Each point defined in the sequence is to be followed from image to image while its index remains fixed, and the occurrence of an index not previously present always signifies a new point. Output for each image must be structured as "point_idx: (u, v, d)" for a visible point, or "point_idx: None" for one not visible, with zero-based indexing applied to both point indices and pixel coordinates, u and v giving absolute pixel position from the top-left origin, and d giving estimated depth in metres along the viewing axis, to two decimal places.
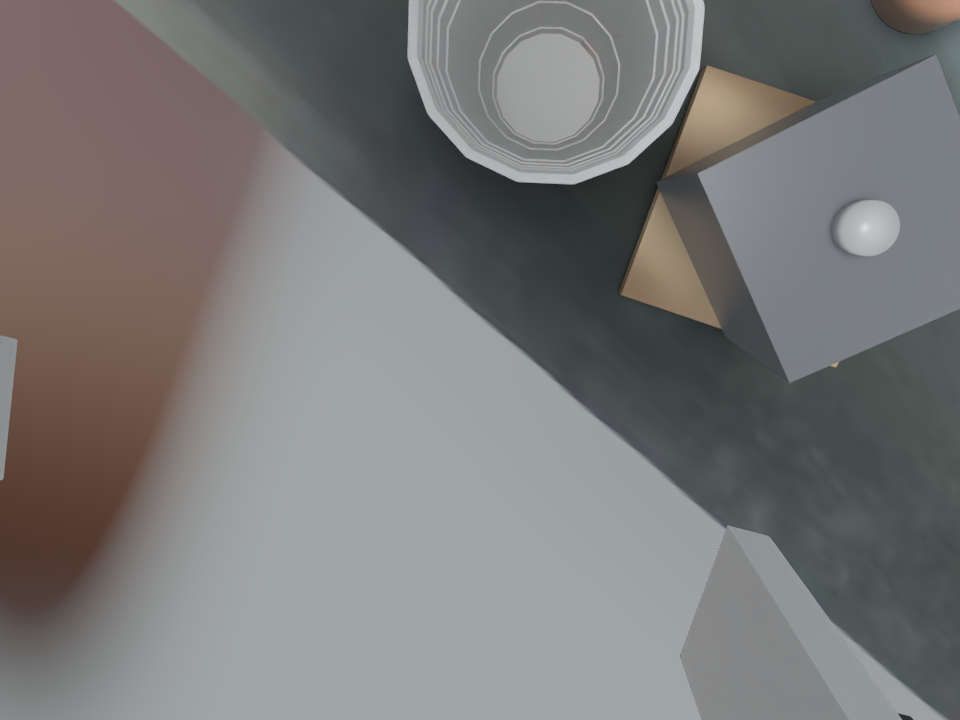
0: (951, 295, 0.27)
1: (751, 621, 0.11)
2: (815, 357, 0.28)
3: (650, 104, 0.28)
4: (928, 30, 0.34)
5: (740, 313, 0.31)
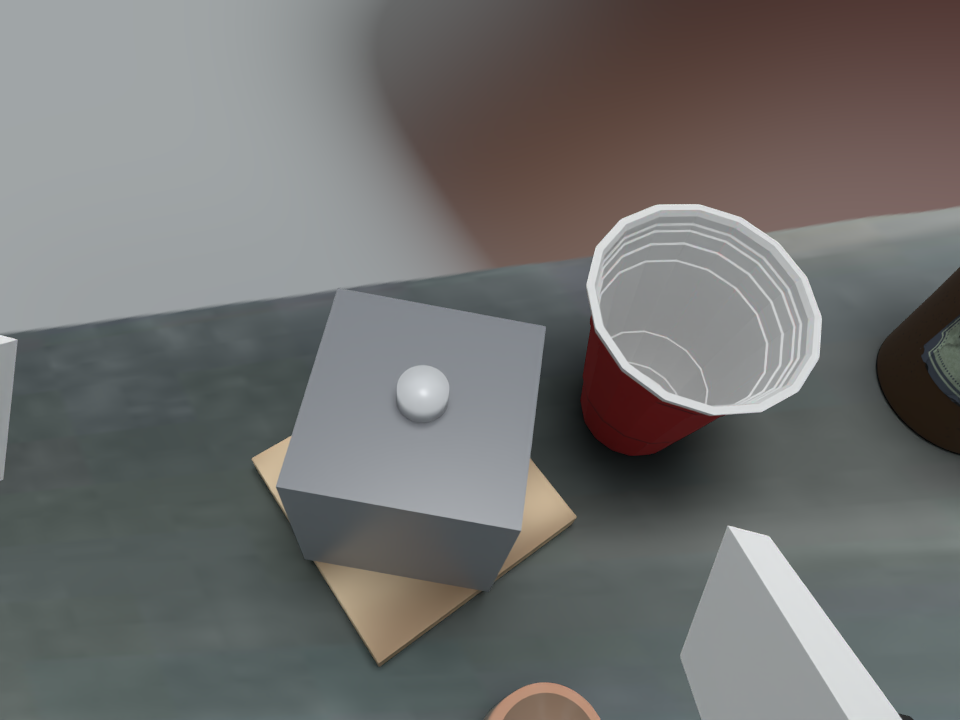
0: (310, 430, 0.27)
1: (751, 621, 0.11)
2: (343, 314, 0.30)
3: None
4: None
5: None
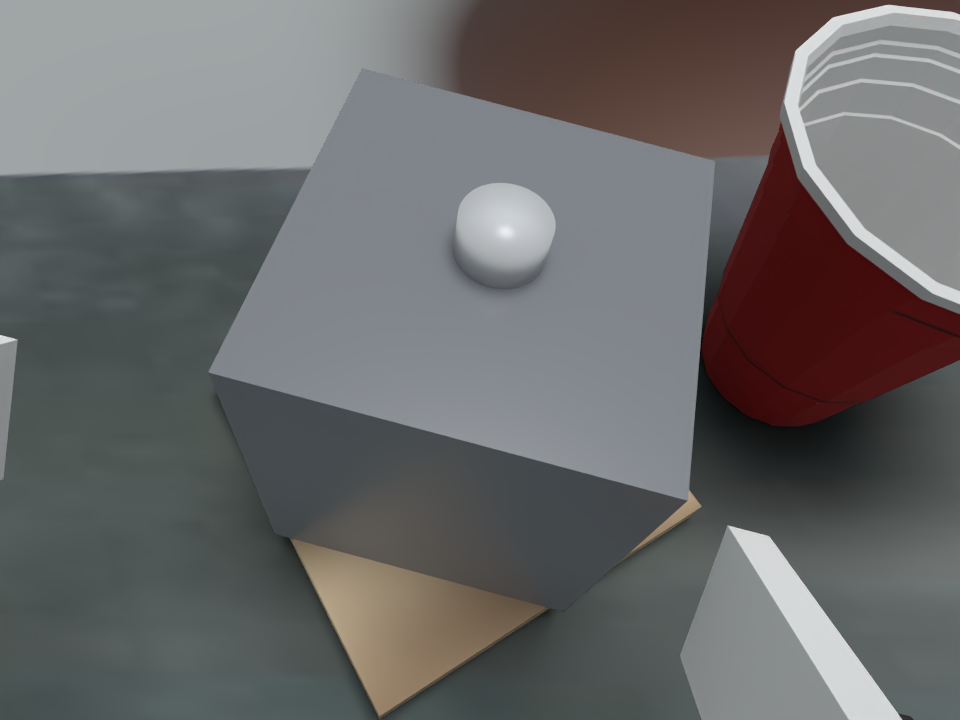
0: (288, 279, 0.14)
1: (751, 621, 0.11)
2: (367, 107, 0.17)
3: (807, 225, 0.19)
4: None
5: None
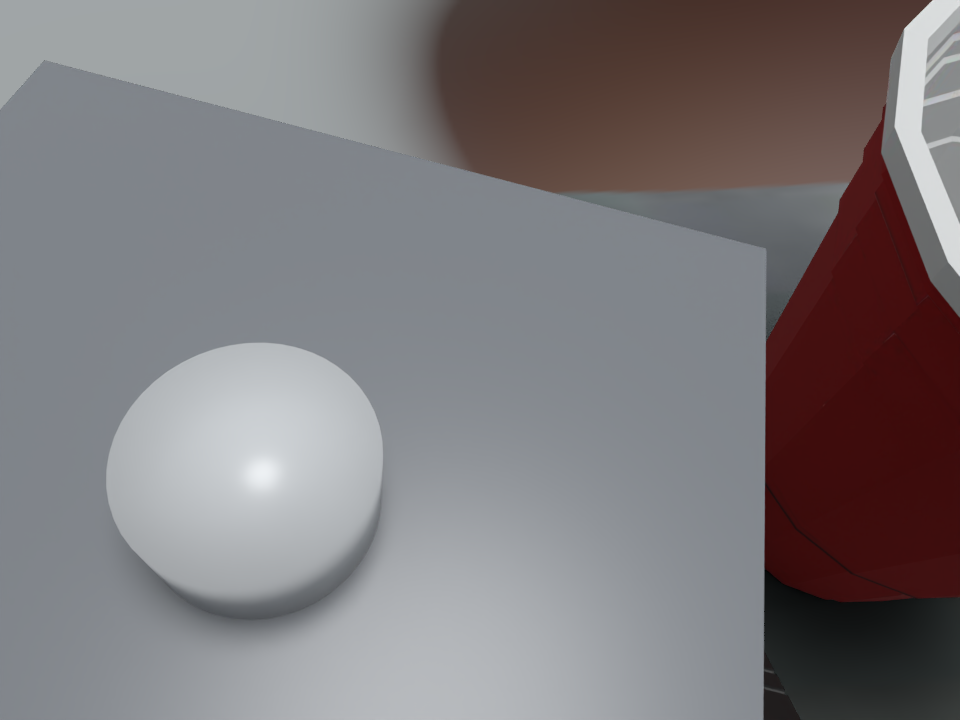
0: None
1: None
2: (29, 142, 0.08)
3: (932, 357, 0.10)
4: None
5: None
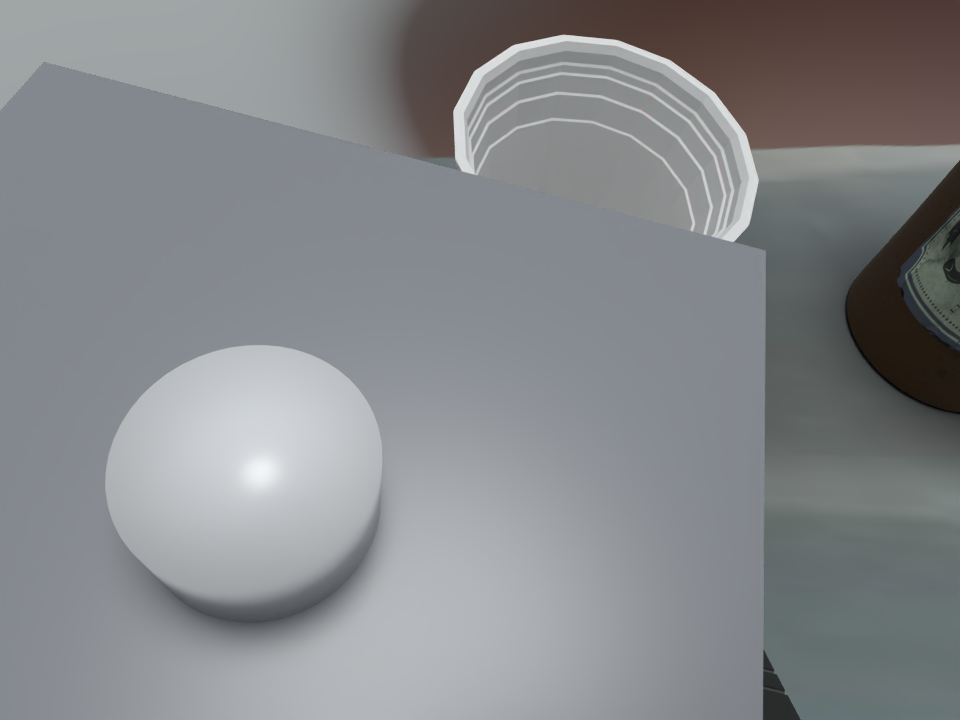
0: None
1: None
2: (29, 145, 0.08)
3: None
4: None
5: None
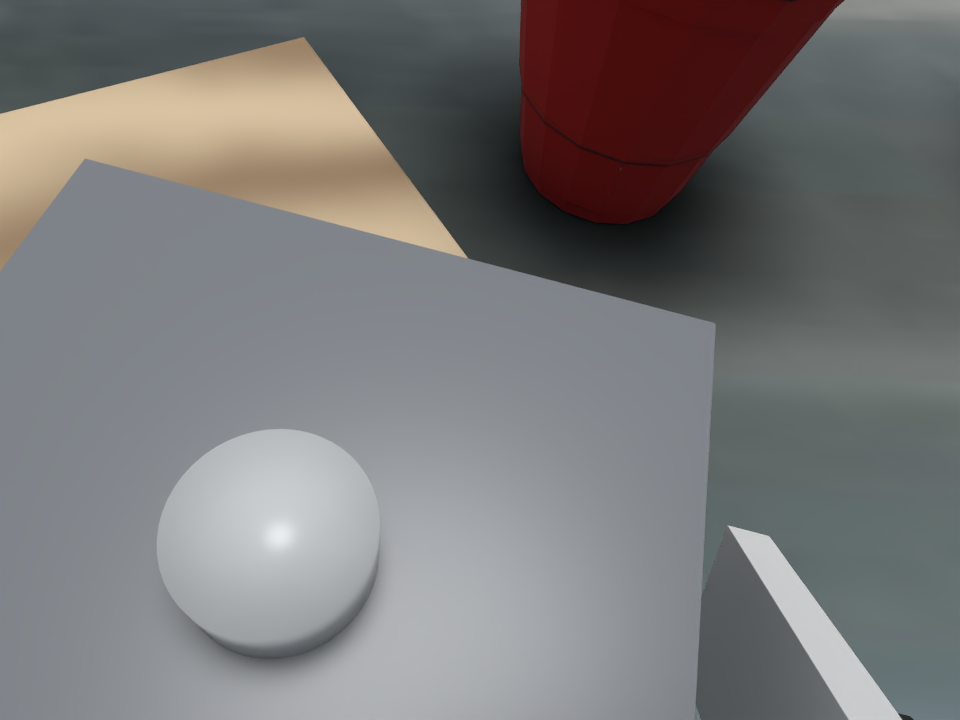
0: None
1: (750, 621, 0.11)
2: (74, 237, 0.09)
3: None
4: None
5: None
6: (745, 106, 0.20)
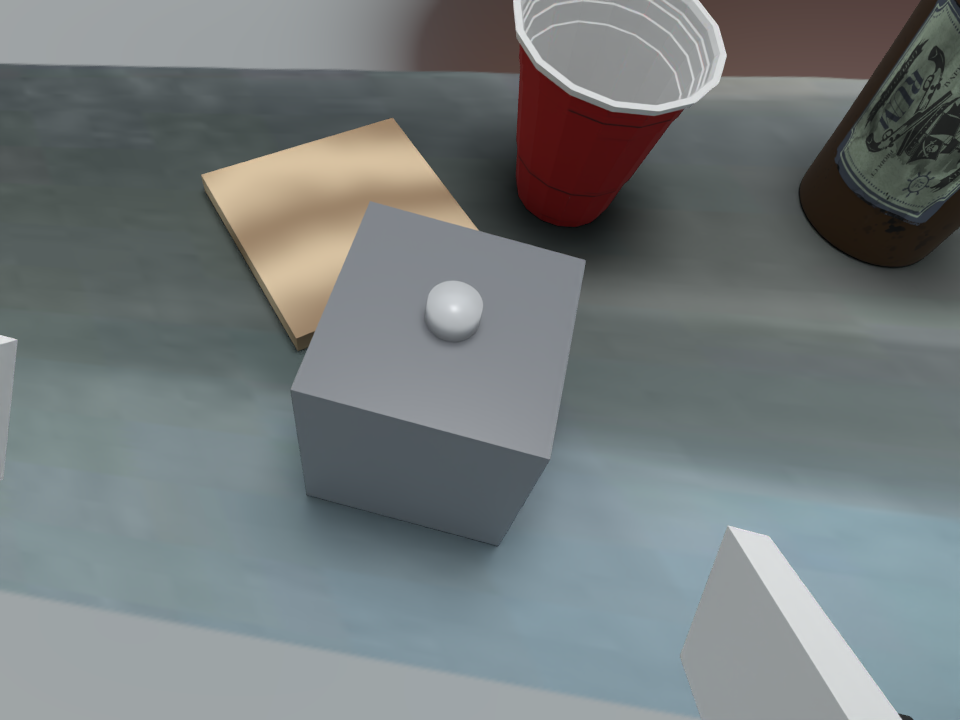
0: (331, 336, 0.25)
1: (751, 621, 0.11)
2: (373, 227, 0.28)
3: (530, 68, 0.35)
4: None
5: None
6: (631, 167, 0.39)
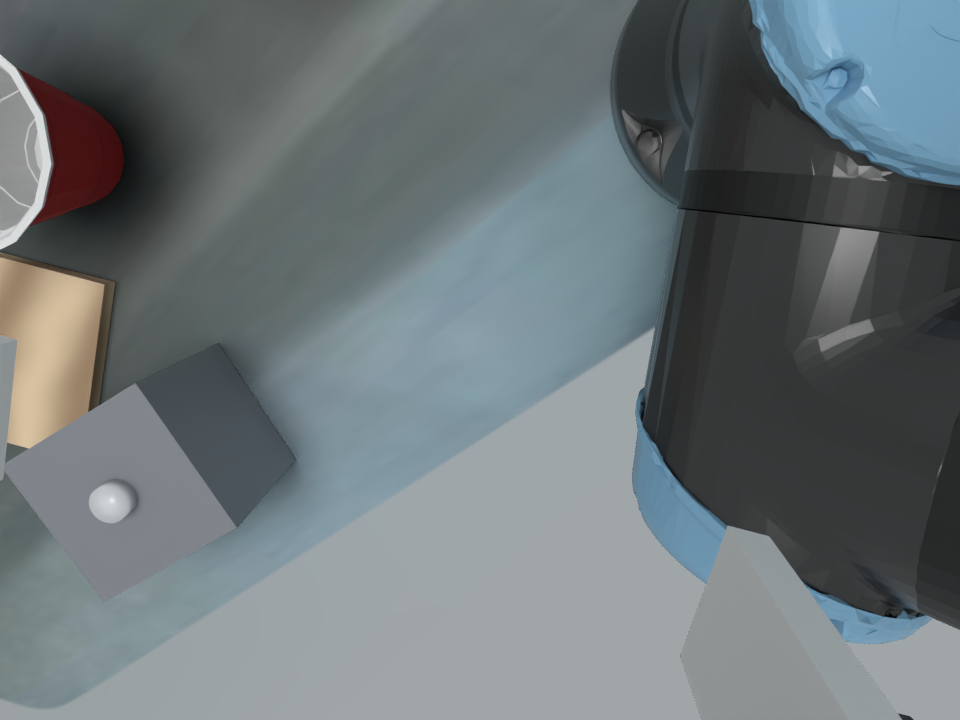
0: (85, 562, 0.38)
1: (750, 621, 0.11)
2: (23, 481, 0.37)
3: None
4: None
5: None
6: (88, 162, 0.38)
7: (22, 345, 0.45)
